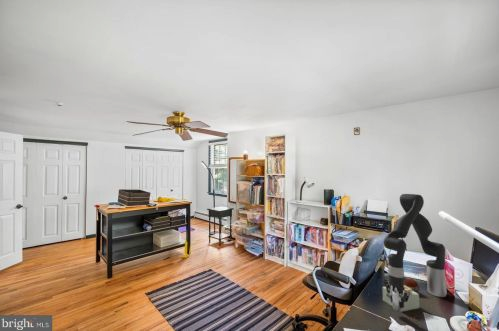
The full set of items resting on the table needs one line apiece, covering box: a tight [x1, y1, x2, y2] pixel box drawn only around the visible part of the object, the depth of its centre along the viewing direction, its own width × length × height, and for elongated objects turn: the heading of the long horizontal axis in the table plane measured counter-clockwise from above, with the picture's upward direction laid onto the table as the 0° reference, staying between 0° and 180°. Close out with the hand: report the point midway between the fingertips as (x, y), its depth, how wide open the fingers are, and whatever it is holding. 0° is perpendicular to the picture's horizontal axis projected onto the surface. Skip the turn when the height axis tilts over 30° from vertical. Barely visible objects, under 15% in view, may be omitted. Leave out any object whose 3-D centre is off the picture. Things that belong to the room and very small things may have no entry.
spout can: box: [392, 289, 403, 312], centre depth 121 cm, size 4×4×11 cm
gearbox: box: [382, 285, 420, 312], centre depth 133 cm, size 14×15×10 cm
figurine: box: [383, 276, 421, 293], centre depth 146 cm, size 15×9×20 cm
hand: (397, 304), depth 120 cm, fingers closed on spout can, 4 cm apart
